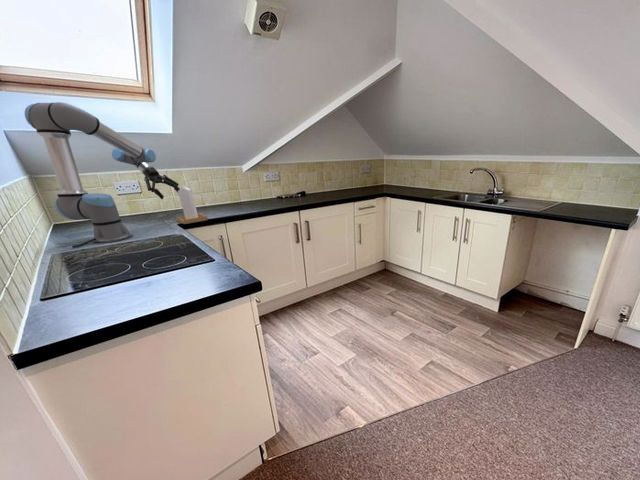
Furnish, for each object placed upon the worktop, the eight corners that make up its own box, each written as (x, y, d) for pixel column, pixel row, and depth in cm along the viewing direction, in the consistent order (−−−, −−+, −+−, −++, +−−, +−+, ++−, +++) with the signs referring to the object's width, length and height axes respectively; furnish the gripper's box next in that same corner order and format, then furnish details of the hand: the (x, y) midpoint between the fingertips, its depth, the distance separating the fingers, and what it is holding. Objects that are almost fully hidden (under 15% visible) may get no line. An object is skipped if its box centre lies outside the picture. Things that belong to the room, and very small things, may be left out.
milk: (185, 221, 191) (175, 185, 182) (189, 218, 197) (179, 184, 188) (196, 220, 192) (186, 185, 183) (199, 218, 198) (189, 183, 189)
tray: (184, 224, 186) (182, 220, 185) (177, 221, 194) (176, 217, 193) (207, 220, 195) (206, 216, 194) (200, 217, 204) (199, 213, 203)
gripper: (165, 173, 203) (187, 196, 204) (127, 177, 182) (152, 203, 183) (168, 165, 199) (191, 189, 200) (130, 168, 178) (155, 195, 179)
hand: (172, 196), depth 192 cm, fingers open, 13 cm apart
